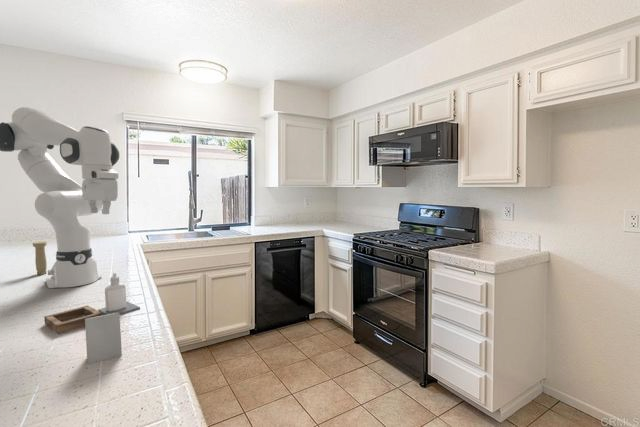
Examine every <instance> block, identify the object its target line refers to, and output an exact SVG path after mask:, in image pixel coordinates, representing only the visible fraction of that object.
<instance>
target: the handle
mask: <svg viewBox="0 0 640 427" xmlns="http://www.w3.org/2000/svg"><path fill="white" fill-rule="evenodd" d="M47 245H48V244H47V241H45V240H41V241H34V242H32V247H34V249H35V257H34V258H35V261H34V263H35V268H36V274H37V276H39V275H40V276H41V275H45V274H47V256H46V255H47V254H46V246H47Z"/></svg>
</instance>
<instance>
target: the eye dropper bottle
mask: <svg viewBox="0 0 640 427" xmlns="http://www.w3.org/2000/svg"><path fill="white" fill-rule="evenodd" d="M109 281H110V284H109V285H106V287H104V288H105V289H104V300H105V307H106V310H107V311H108V312H112V311H117V310H121V309H123V308H126V302H127V294H126V293H127V292H126V291H127V290H126V289H127V288H126V285H125V284H124V283H121V282H120V276H117V273H116V272H113V273H112V276H111V277H110V280H109Z"/></svg>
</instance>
